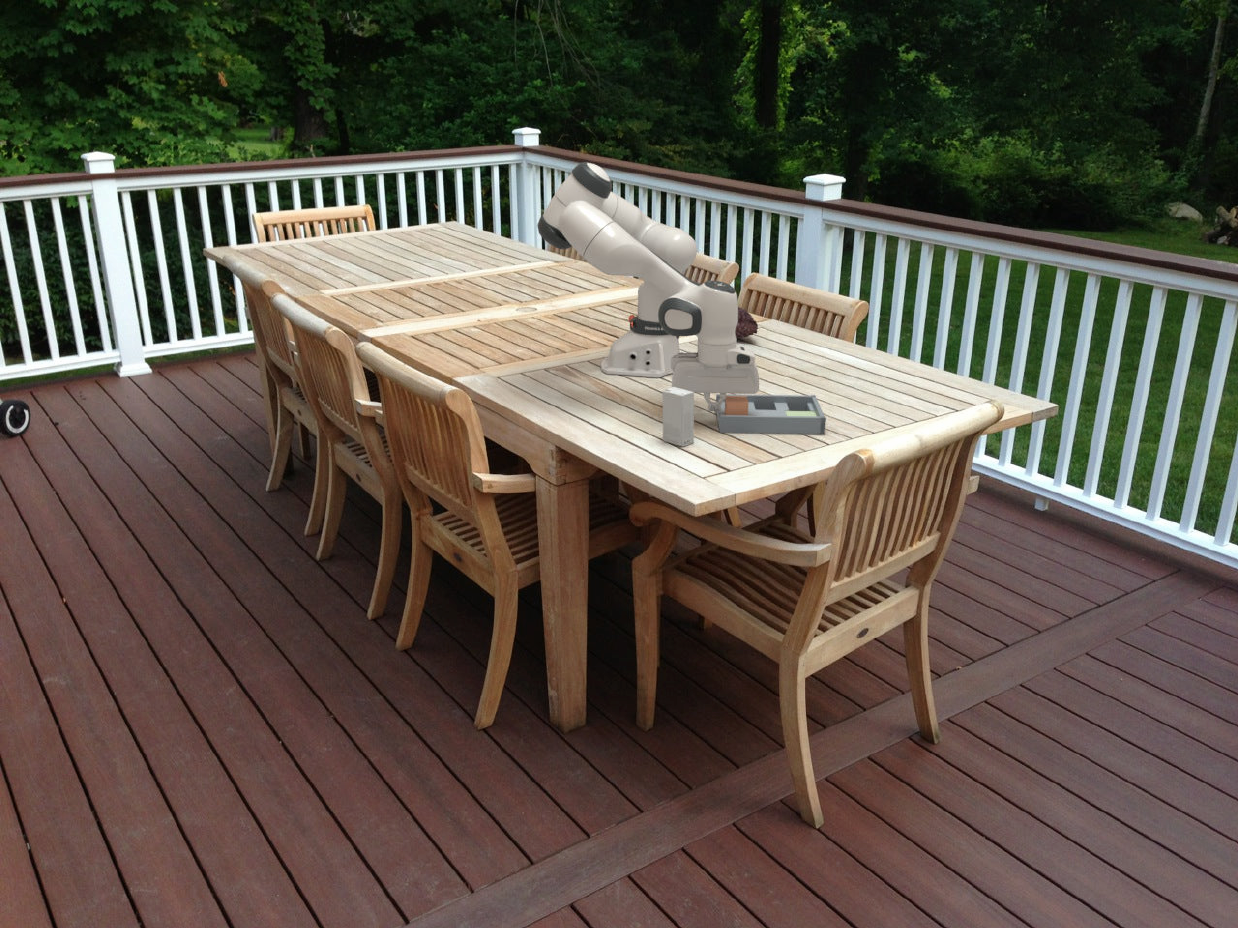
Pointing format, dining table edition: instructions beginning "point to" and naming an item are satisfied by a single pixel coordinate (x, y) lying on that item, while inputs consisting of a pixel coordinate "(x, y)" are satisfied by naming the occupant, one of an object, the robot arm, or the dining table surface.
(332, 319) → the dining table surface
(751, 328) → the pine cone
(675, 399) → the skincare box
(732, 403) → the block
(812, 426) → the box
